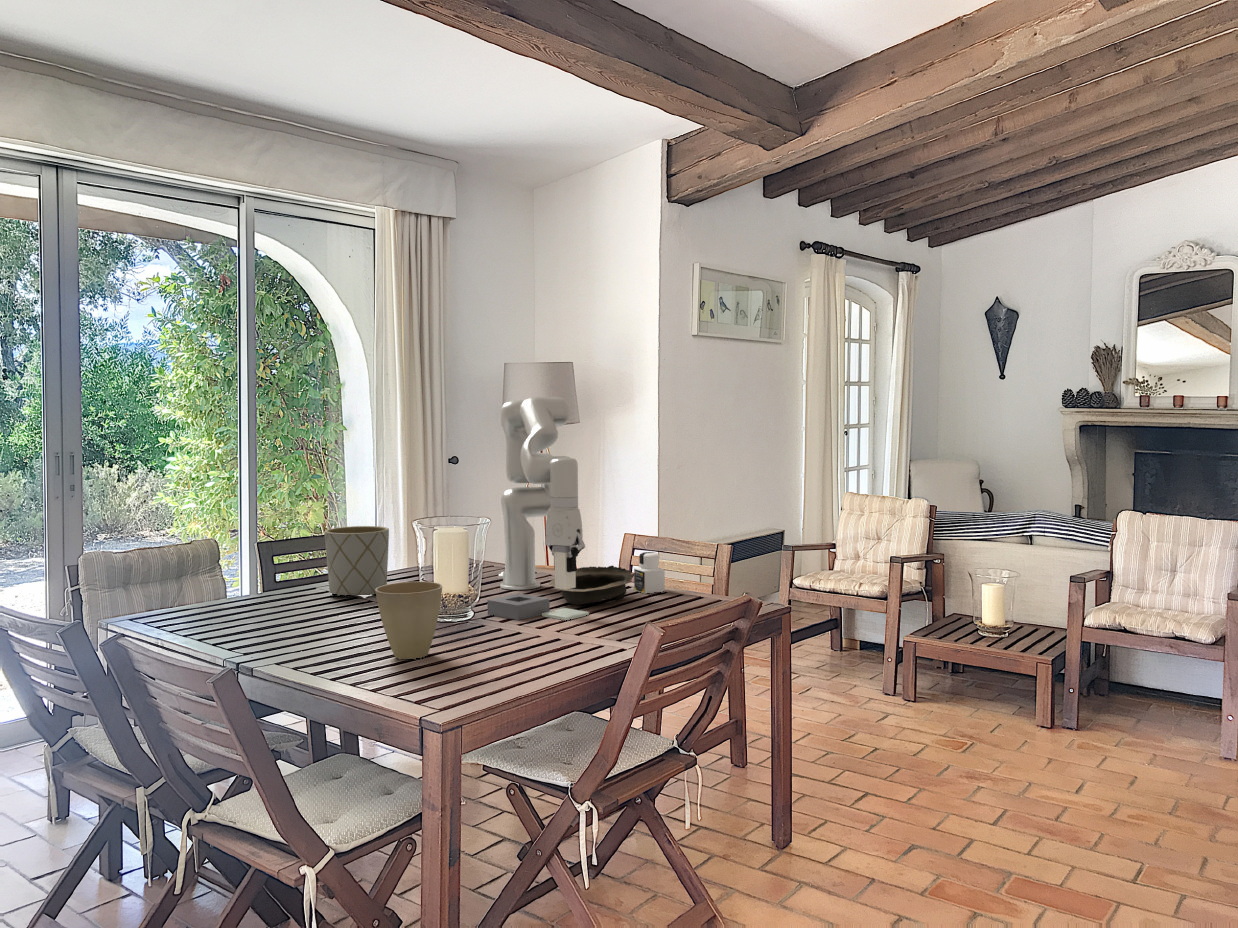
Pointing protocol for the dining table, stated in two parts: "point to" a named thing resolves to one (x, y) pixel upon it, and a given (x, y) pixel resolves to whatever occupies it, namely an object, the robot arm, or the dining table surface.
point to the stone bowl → (597, 585)
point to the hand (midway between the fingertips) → (565, 570)
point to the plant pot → (409, 616)
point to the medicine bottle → (649, 574)
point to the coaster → (565, 614)
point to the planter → (357, 559)
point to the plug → (563, 569)
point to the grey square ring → (518, 606)
